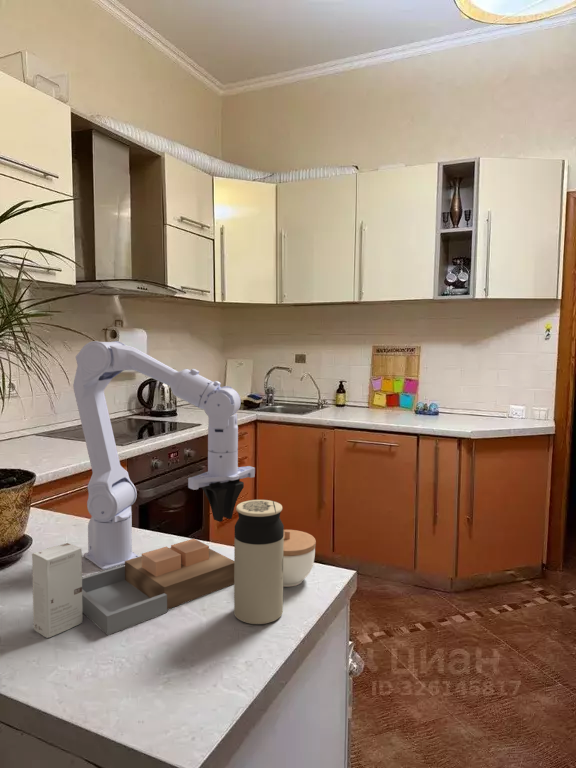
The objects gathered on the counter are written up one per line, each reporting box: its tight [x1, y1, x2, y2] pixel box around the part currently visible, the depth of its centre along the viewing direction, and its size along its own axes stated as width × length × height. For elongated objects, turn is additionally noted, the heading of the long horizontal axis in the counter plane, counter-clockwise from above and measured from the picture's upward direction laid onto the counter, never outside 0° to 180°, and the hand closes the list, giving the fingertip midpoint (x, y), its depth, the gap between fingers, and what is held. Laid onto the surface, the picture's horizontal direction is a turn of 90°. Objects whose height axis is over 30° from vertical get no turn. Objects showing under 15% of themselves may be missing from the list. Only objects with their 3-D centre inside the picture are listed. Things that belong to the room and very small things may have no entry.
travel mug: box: [233, 499, 285, 625], centre depth 87 cm, size 8×8×18 cm
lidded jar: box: [283, 529, 317, 588], centre depth 100 cm, size 11×11×9 cm
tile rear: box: [170, 538, 210, 566], centre depth 99 cm, size 5×5×2 cm
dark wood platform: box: [124, 547, 234, 611], centre depth 98 cm, size 14×15×4 cm
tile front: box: [141, 546, 181, 576], centre depth 95 cm, size 5×5×2 cm
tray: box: [82, 564, 168, 636], centre depth 90 cm, size 16×10×3 cm, turn 43°
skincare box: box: [31, 542, 84, 639], centre depth 83 cm, size 6×4×12 cm
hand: (222, 518), depth 104 cm, fingers closed
